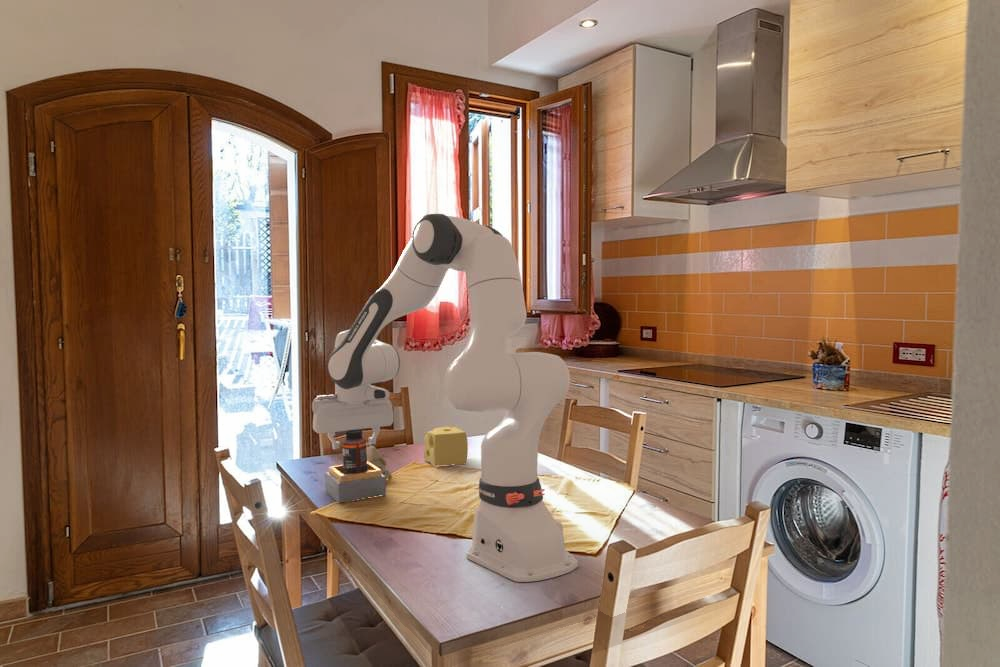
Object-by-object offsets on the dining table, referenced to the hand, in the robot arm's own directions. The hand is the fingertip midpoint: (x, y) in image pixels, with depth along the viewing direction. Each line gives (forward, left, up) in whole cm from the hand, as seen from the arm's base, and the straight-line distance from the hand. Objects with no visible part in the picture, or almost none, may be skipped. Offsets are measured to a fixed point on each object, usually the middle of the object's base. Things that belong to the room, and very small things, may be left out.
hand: (354, 446), depth 166 cm
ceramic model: (+13, -8, -12) cm, 20 cm away
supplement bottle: (0, 0, -7) cm, 7 cm away
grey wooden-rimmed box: (0, 0, -12) cm, 12 cm away
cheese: (+16, -33, -12) cm, 39 cm away
